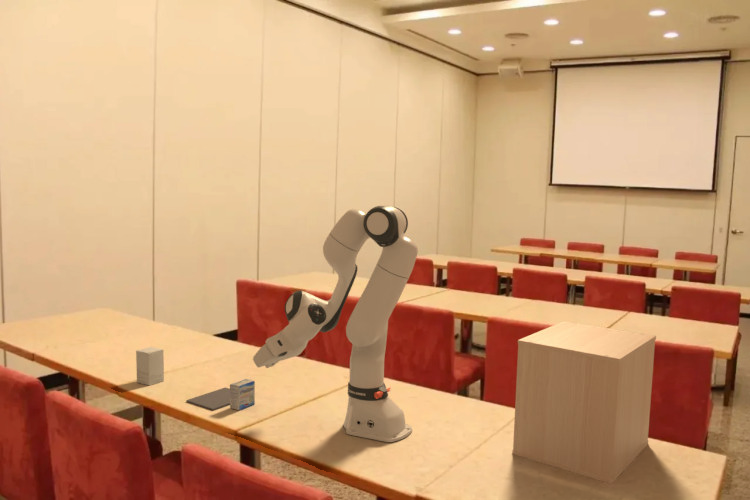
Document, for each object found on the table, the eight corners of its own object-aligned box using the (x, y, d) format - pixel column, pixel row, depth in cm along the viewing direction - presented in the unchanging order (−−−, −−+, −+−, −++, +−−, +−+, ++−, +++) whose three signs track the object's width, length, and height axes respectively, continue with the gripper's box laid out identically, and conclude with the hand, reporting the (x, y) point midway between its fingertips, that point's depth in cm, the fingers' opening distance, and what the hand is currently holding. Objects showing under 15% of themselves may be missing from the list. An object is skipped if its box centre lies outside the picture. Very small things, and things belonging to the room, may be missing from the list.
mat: (251, 396, 234) (251, 395, 234) (213, 410, 219) (213, 408, 219) (225, 388, 242) (225, 387, 242) (186, 401, 227) (186, 400, 227)
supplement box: (164, 381, 249) (164, 349, 248) (148, 386, 243) (148, 353, 242) (152, 377, 253) (151, 346, 252) (136, 382, 247) (135, 350, 246)
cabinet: (558, 420, 218) (564, 320, 214) (648, 443, 200) (656, 335, 197) (512, 453, 191) (517, 339, 187) (611, 483, 173) (620, 358, 169)
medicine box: (239, 411, 220) (239, 386, 219) (229, 408, 222) (229, 383, 221) (255, 404, 226) (255, 380, 225) (245, 402, 229) (245, 378, 228)
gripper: (306, 328, 218) (284, 351, 225) (263, 339, 202) (241, 364, 208) (316, 343, 216) (294, 366, 223) (273, 356, 200) (251, 380, 206)
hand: (268, 365), depth 215 cm, fingers closed
